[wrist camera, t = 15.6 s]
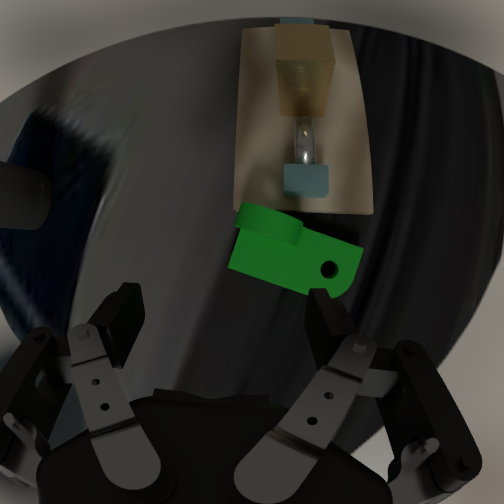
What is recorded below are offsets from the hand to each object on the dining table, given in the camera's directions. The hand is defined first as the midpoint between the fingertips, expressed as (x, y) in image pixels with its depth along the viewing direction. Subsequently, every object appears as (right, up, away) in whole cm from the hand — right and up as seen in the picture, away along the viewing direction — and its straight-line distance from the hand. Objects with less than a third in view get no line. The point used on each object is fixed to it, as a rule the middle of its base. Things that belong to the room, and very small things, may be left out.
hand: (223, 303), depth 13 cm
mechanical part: (+6, +2, +16) cm, 17 cm away
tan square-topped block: (+7, +19, +14) cm, 24 cm away
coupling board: (+7, +19, +15) cm, 25 cm away
